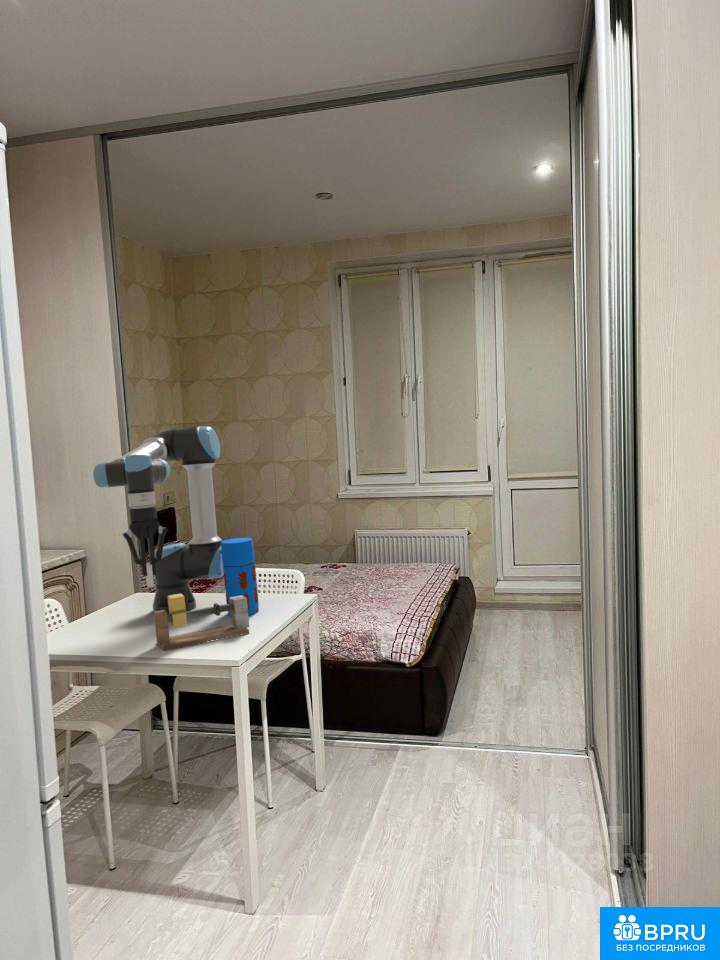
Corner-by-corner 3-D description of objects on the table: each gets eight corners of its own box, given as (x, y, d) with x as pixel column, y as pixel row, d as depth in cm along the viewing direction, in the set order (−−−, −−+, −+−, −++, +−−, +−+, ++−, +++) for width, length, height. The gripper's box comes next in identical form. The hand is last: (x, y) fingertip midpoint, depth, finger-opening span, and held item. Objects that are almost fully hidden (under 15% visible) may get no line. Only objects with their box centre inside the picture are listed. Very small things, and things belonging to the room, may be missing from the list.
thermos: (264, 608, 262) (257, 537, 260) (251, 616, 251) (244, 542, 249) (235, 608, 265) (229, 538, 263) (222, 616, 254) (215, 543, 252)
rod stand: (155, 643, 228) (151, 609, 227) (242, 626, 240) (239, 594, 239) (162, 651, 219) (158, 616, 218) (252, 632, 231) (249, 599, 230)
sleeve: (170, 624, 227) (167, 595, 226) (183, 622, 229) (180, 593, 228) (173, 627, 223) (170, 598, 222) (187, 625, 225) (184, 595, 224)
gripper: (121, 510, 214) (130, 592, 215) (167, 505, 219) (175, 584, 221) (117, 508, 220) (125, 588, 222) (162, 503, 226) (169, 581, 228)
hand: (150, 586), depth 221 cm, fingers closed
